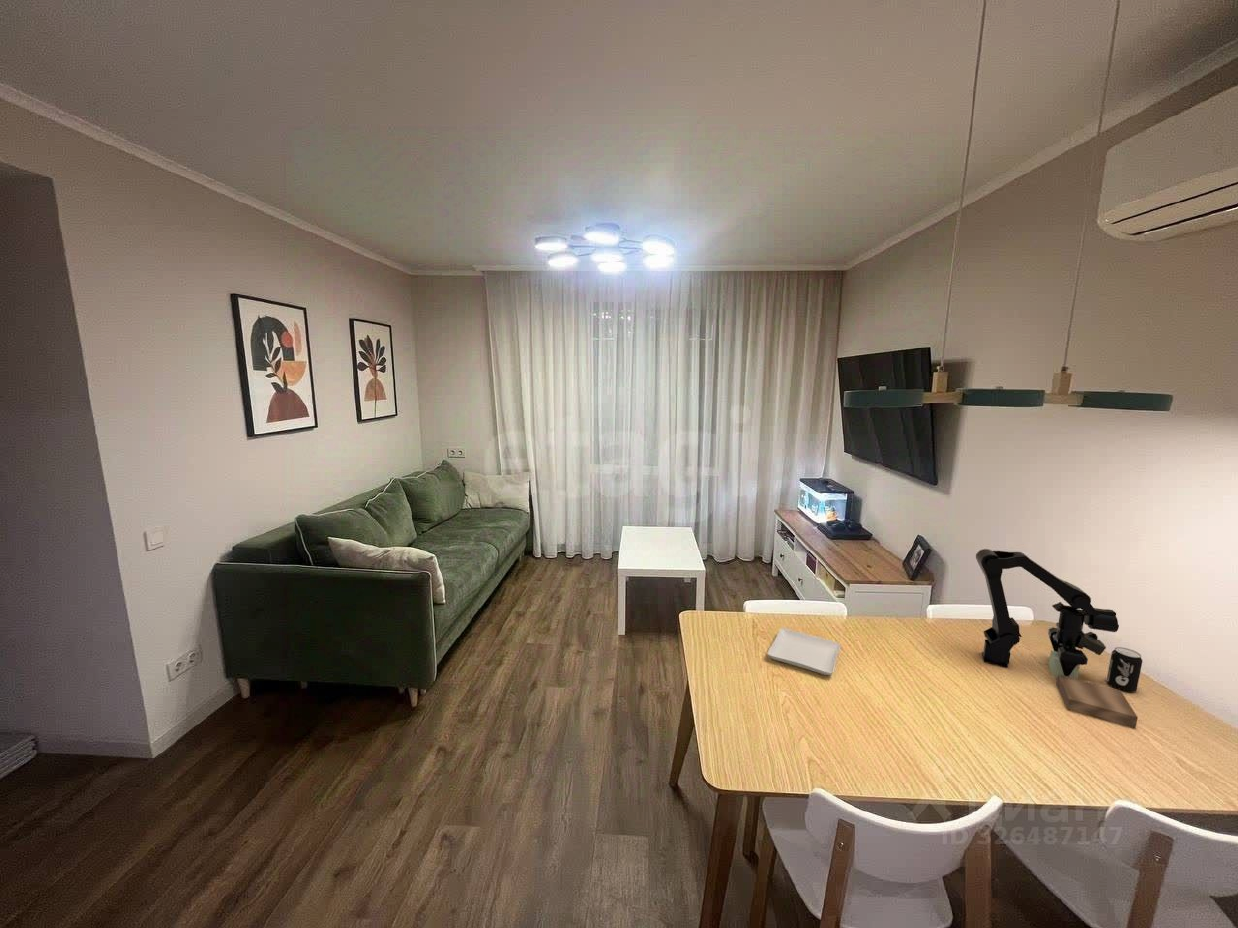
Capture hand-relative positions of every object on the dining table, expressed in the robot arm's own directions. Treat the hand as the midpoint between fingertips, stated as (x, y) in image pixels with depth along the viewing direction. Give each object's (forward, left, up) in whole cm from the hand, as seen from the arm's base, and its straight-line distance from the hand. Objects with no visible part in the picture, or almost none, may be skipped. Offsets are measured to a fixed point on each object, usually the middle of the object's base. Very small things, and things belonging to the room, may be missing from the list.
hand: (1062, 668), depth 154 cm
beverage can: (+14, +1, -2) cm, 14 cm away
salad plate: (-74, -36, -2) cm, 82 cm away
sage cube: (0, 0, -2) cm, 2 cm away
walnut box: (+4, -16, -2) cm, 17 cm away
